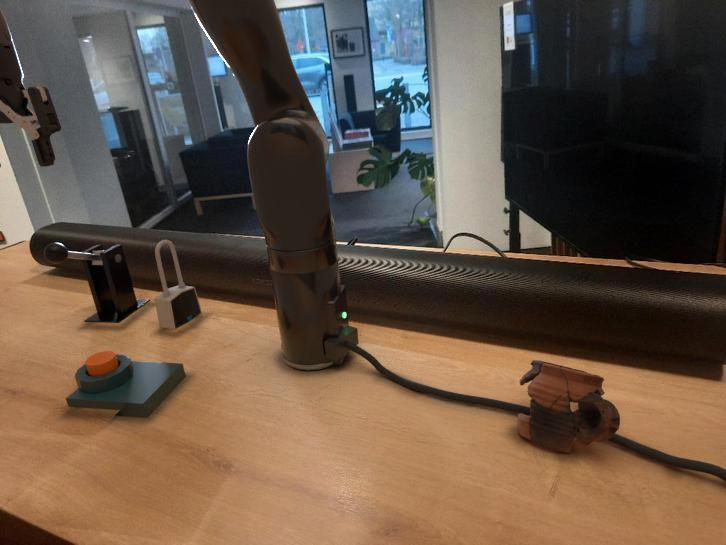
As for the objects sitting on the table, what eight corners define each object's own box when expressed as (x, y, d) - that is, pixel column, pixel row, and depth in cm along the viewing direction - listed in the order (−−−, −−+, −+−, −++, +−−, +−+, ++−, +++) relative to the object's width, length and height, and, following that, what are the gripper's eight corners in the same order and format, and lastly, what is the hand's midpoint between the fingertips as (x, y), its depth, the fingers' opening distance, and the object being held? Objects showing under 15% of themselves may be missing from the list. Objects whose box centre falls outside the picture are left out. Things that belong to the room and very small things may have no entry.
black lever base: (120, 328, 84) (100, 257, 80) (85, 326, 86) (63, 257, 81) (151, 305, 93) (135, 240, 88) (119, 304, 94) (101, 240, 89)
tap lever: (55, 262, 73) (56, 241, 74) (37, 262, 74) (38, 241, 74) (116, 268, 86) (117, 250, 86) (101, 268, 87) (101, 250, 87)
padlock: (187, 314, 88) (168, 233, 82) (205, 317, 86) (187, 234, 80) (158, 331, 82) (136, 246, 77) (177, 335, 80) (156, 248, 75)
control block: (186, 376, 68) (179, 351, 67) (147, 418, 60) (139, 391, 59) (112, 372, 71) (104, 348, 69) (65, 412, 63) (55, 385, 61)
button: (124, 362, 66) (121, 351, 65) (106, 377, 63) (102, 366, 62) (101, 361, 67) (97, 350, 66) (82, 376, 64) (78, 364, 63)
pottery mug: (491, 425, 55) (507, 352, 56) (551, 433, 59) (565, 365, 60) (581, 468, 44) (599, 377, 45) (647, 474, 48) (663, 391, 49)
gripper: (-95, 46, 62) (-47, 175, 68) (6, 36, 60) (47, 169, 66) (-44, 49, 69) (-4, 166, 75) (48, 40, 67) (82, 160, 73)
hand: (20, 167), depth 71 cm, fingers open, 8 cm apart
